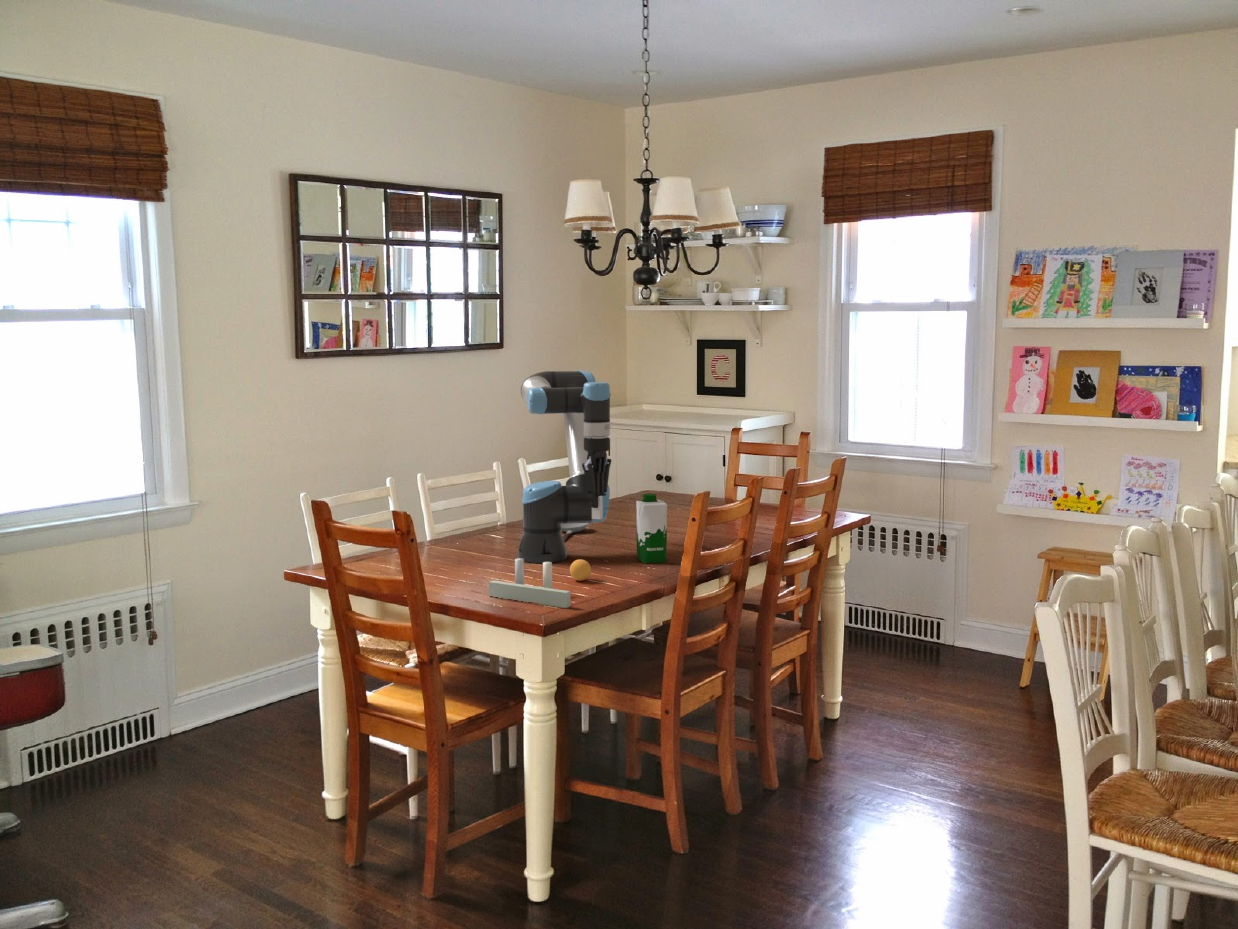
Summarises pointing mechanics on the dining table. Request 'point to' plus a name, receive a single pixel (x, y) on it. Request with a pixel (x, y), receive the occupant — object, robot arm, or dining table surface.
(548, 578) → the pin
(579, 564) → the ball
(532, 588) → the wall
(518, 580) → the grey pin
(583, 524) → the spoon
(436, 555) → the dining table surface
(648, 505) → the milk carton
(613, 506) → the dining table surface
